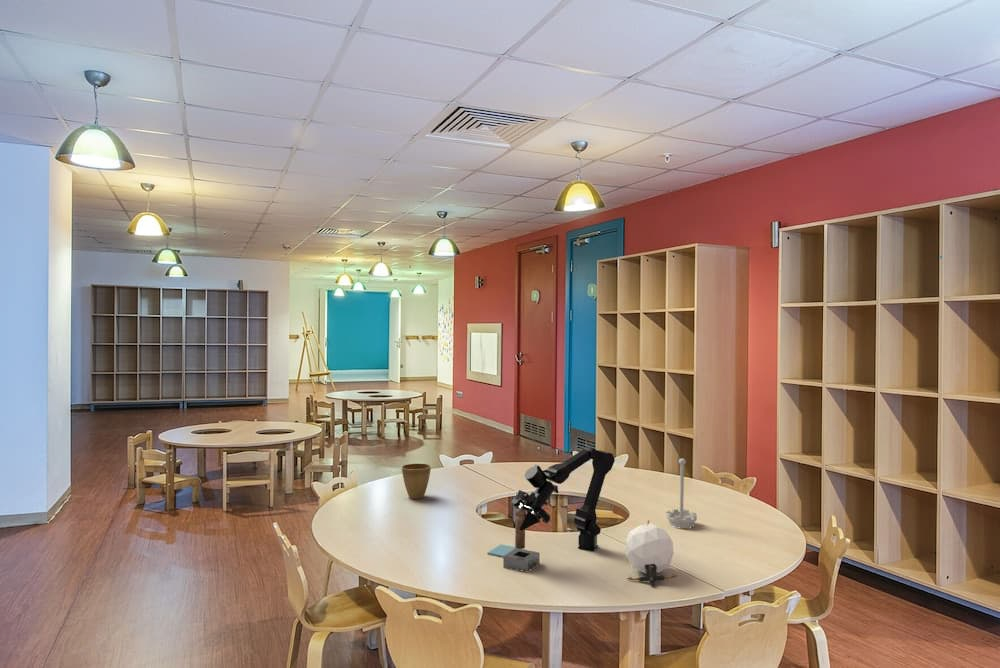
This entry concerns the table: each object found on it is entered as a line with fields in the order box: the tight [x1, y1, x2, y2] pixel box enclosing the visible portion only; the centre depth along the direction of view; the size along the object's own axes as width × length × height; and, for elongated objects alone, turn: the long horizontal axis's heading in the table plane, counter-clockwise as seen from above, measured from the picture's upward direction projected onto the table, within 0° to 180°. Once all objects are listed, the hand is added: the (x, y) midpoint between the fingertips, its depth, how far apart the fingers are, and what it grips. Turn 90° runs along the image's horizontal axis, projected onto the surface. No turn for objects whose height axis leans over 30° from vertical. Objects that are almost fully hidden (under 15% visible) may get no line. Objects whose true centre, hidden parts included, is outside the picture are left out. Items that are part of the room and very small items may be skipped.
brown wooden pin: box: [514, 508, 527, 549], centre depth 240 cm, size 4×4×14 cm
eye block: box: [502, 548, 541, 572], centre depth 239 cm, size 10×10×4 cm
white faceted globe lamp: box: [625, 520, 678, 586], centre depth 230 cm, size 17×25×24 cm
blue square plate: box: [486, 543, 526, 558], centre depth 252 cm, size 11×11×1 cm
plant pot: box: [401, 463, 432, 500], centre depth 330 cm, size 15×15×16 cm
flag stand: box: [666, 458, 698, 529], centre depth 289 cm, size 13×13×30 cm
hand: (517, 528), depth 239 cm, fingers closed on brown wooden pin, 4 cm apart
